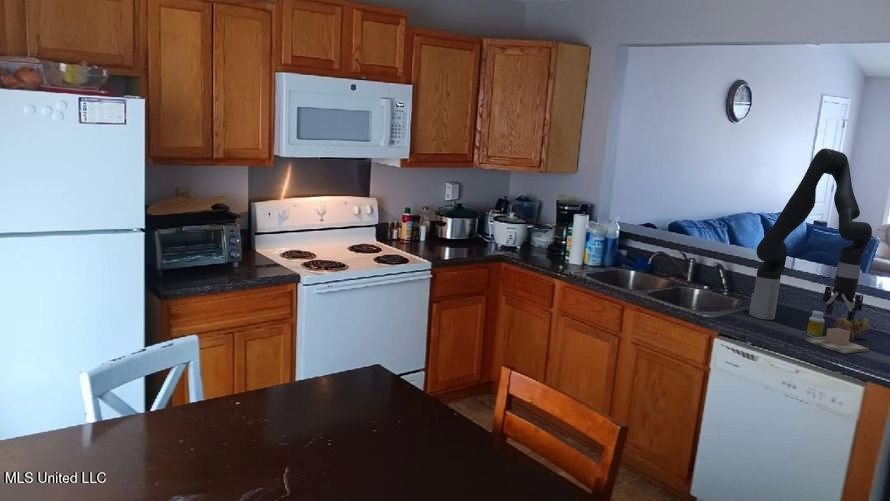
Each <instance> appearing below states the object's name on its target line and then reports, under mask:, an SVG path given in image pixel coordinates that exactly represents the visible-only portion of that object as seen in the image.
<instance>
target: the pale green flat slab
mask: <svg viewBox="0 0 890 501" xmlns="http://www.w3.org/2000/svg"><path fill="white" fill-rule="evenodd" d="M804 340H806V341H805V342H809V343H811V344H813V345H816V346H819V347H823V348H824V349H825V348H826V349H829V350H832V351H834V352H838V353H841V354H851V353H861V352H870V348H869V347H865V346H862V345H860V344H857V343H853V342H850V341H849V344H848V345H835V344H832V343H828V342H825V341H826V336H822V337H805V338H804Z"/></svg>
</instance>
